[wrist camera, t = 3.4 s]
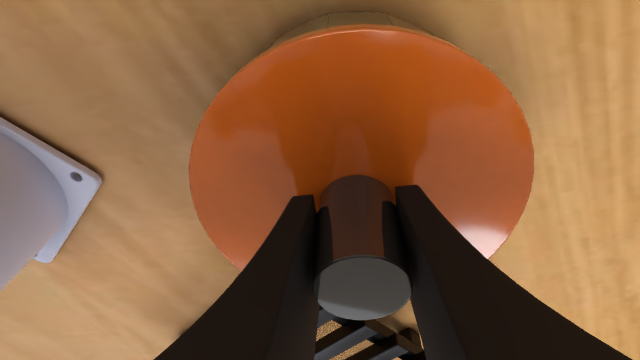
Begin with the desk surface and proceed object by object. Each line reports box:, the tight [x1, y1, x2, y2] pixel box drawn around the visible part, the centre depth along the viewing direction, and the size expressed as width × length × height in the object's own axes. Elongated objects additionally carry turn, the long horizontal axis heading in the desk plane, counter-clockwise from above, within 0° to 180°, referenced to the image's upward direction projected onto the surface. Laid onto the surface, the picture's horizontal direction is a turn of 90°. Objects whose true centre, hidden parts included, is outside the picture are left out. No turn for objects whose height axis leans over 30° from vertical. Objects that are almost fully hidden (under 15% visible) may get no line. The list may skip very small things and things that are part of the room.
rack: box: [182, 306, 426, 360], centre depth 23 cm, size 12×14×3 cm
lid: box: [189, 24, 534, 320], centre depth 10 cm, size 10×10×4 cm
